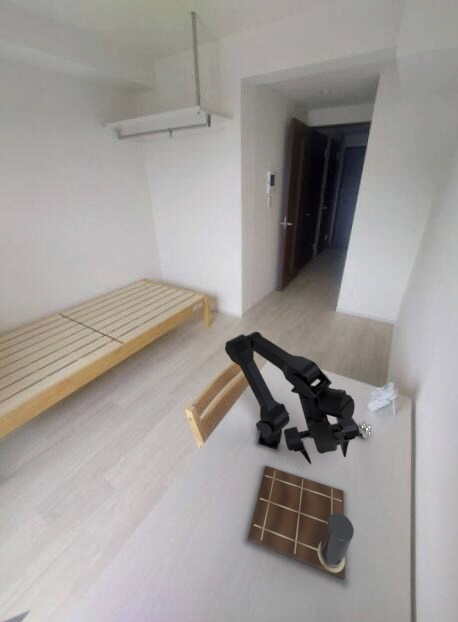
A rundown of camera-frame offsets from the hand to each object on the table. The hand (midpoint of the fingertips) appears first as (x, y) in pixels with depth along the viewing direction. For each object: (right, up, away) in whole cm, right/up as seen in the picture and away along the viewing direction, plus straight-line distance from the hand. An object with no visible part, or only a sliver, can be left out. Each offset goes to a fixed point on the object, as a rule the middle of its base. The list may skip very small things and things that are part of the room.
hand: (327, 459), depth 73 cm
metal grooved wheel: (+19, -2, +20) cm, 28 cm away
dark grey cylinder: (-3, -17, -10) cm, 20 cm away
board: (-8, -14, -2) cm, 16 cm away
